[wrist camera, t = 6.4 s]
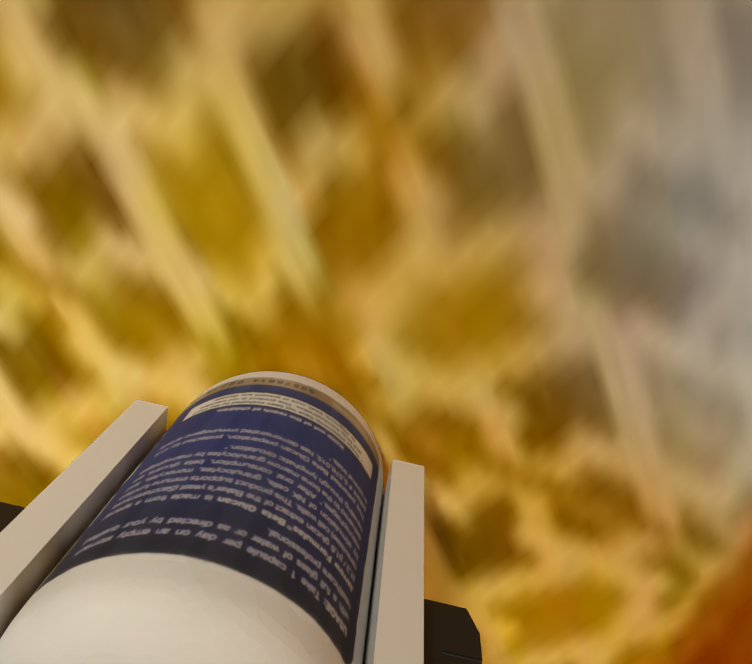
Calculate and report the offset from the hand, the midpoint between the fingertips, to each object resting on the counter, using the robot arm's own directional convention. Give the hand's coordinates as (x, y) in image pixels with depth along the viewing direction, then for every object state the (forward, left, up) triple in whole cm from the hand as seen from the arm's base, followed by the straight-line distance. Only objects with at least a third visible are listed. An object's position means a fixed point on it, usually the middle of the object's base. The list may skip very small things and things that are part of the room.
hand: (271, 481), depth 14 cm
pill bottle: (0, 0, -1) cm, 1 cm away
